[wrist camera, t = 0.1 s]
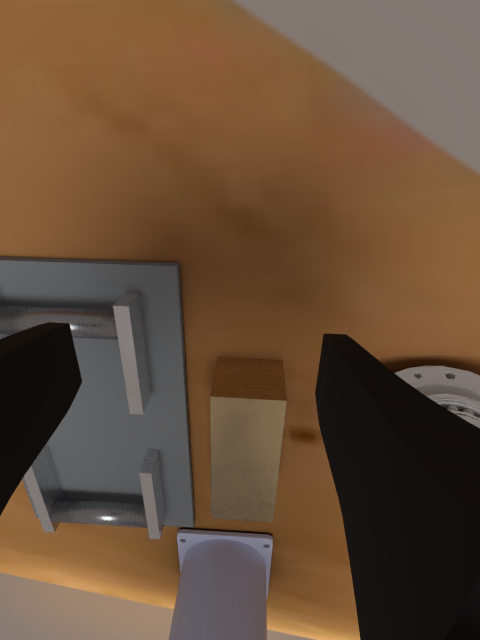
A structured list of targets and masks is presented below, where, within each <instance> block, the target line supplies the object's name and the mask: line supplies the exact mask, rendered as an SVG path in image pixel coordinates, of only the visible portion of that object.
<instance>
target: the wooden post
mask: <svg viewBox="0 0 480 640" xmlns="http://www.w3.org/2000/svg"><path fill="white" fill-rule="evenodd" d="M286 404H287V398H286V388H285V377H284V367H283V361H281V360H263V359H245V358H226V357H218V360H217V365H216V370H215V375H214V380H213V385H212V390H211V395H210V421H211V518H216V519H231V520H245V521H260V522H273V518H274V509H275V500H276V491H277V483H278V474H279V465H280V456H281V448H282V439H283V430H284V421H285V413H286Z"/></svg>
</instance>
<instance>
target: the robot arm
mask: <svg viewBox="0 0 480 640" xmlns="http://www.w3.org/2000/svg"><path fill="white" fill-rule="evenodd" d="M81 384H82V378H81V373H80V369H79V364H78V360H77V355H76V351H75V346H74V342H73V337H72V333H71V328H70V324H69V323H55V322H48V323H44V324H40V325H37V326H34V327H31V328H28V329H25V330H22V331H20V332H17V333H15V334H12V335H9V336H7V337H4V338H2V339H0V515H1V514H2V512H3V510H4V508H5V506H6V504H7V503H8V501H9V499H10V497H11V496H12V494H13V492H14V491H15V489H16V488H17V486H18V485H19V483H20V481H21V480H22V478H23V477H24V475H25V474H26V473H27V471H28V470H29V468H30V467H31V465H32V464H33V462H34V461H35V459H36V458H37V457H38V455H39V454H40V452H41V451H42V449H43V448H44V446H45V445H46V444H47V442H48V441H49V439H50V438H51V436H52V435H53V433H54V432H55V430H56V429H57V427H58V426H59V424H60V423H61V421H62V420H63V418H64V417H65V415H66V414H67V412H68V411H69V409H70V407H71V405H72V403H73V401H74V399H75V397H76V395H77V393H78V390H79V388H80V386H81ZM315 395H316V403H317V412H318V419H319V426H320V430H321V434H322V437H323V441H324V445H325V449H326V453H327V457H328V460H329V464H330V468H331V472H332V476H333V479H334V483H335V487H336V491H337V494H338V498H339V503H340V507H341V512H342V516H343V522H344V528H345V535H346V541H347V547H348V553H349V560H350V567H351V573H352V580H353V587H354V594H355V601H356V608H357V616H358V623H359V631H360V639H361V640H480V428H478V427H477V426H475V425H473V424H471V423H469V422H468V421H466V420H464V419H462V418H461V417H459V416H457V415H456V414H454V413H452V412H451V411H449V410H447V409H446V408H444V407H442V406H441V405H439V404H438V403H436V402H435V401H433V400H431V399H430V398H428V397H427V396H425V395H424V394H423V393H421V392H420V391H418V390H417V389H415V388H414V387H413V386H411V385H410V384H408V383H407V382H406V381H404V380H403V379H402V378H400V377H399V376H398V375H396V374H395V373H394V372H392V371H391V370H390V369H388V368H387V367H386V366H385V365H383V364H382V363H381V362H380V361H378V360H377V359H376V358H375V357H374V356H372V355H371V354H370V353H369V352H368V351H366V350H365V349H364V348H363V347H361V346H360V345H359V344H358V343H357V342H355V341H354V340H353V339H352V338H350V337H349V336H347V335H344V334H324V336H323V343H322V350H321V357H320V364H319V371H318V378H317V385H316V392H315ZM177 544H178V554H179V564H180V574H181V576H180V581H179V587H178V592H177V598H176V603H175V608H174V614H173V619H172V625H171V630H170V636H169V640H267V613H266V599H267V597H268V587H269V577H270V567H271V557H272V547H273V537H272V536H271V535H268V534H253V533H237V532H222V531H206V530H190V529H180V530H179V531H178V532H177Z"/></svg>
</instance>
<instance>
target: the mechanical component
mask: <svg viewBox="0 0 480 640" xmlns="http://www.w3.org/2000/svg"><path fill="white" fill-rule="evenodd" d="M395 374H396V375H398V376H399V377H400V378H402V379H403V380H404V381H406V382H407V383H408V384H410V385H411V386H413V387H414V388H415V389H417V390H418V391H420V392H421V393H423V394H424V395H425V396H427V397H428V398H430V399H431V400H433V401H435V402H436V403H438V404H439V405H441V406H442V407H444V408H446V409H447V410H449V411H451V412H452V413H454V414H456V415H457V416H459V417H461V418H462V419H464V420H466V421H468V422H469V423H471V424H473V425H475V426H477V427H478V428H480V375H477V374H475V373H473V372H470V371H465V370H460V369H455V368H450V367H445V366H419V367H412V368H407V369H404V370H401V371H399V372H396V373H395Z"/></svg>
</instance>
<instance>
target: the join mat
mask: <svg viewBox="0 0 480 640" xmlns="http://www.w3.org/2000/svg"><path fill="white" fill-rule="evenodd" d="M0 290H1V293H2V297H3V300H4V303H5V305H7V306H31V307H56V308H81V309H106V310H113V305H114V304H115V303H116V302H117V301H118V300H119V298H120V297H121V296H122V295H123V294H124V293H125V292H126V291H141V298H142V307H143V315H144V324H145V332H146V341H147V350H148V358H149V367H150V376H151V384H152V395H151V398H150V400H149V402H148V405H147V407H146V409H145V412H144V414H130V412H129V405H128V399H127V392H126V386H125V380H124V373H123V367H122V361H121V354H120V348H119V342H118V340H114V339H91V338H73V342H74V346H75V351H76V355H77V360H78V364H79V369H80V373H81V378H82V384H81V386H80V388H79V390H78V393H77V395H76V397H75V399H74V401H73V403H72V405H71V407H70V409H69V411H68V412H67V414H66V415H65V417H64V418H63V420H62V421H61V423H60V424H59V426H58V427H57V429H56V430H55V432H54V433H53V435H52V436H51V438H50V439H49V441H48V442H47V444H48V446H49V449H50V453H51V456H52V459H53V462H54V466H55V469H56V472H57V475H58V478H59V482H60V485H61V488H62V491H63V495H64V498H73V499H90V500H106V501H122V502H139V503H144V501H143V494H142V488H141V481H140V475H139V472H140V469H141V466H142V464H143V461H144V458H145V456H146V453H147V450H148V449H154V450H159V453H160V462H161V471H162V479H163V488H164V496H165V505H166V518H165V522H164V526H178V527H194V522H195V514H194V498H193V481H192V465H191V448H190V432H189V415H188V399H187V382H186V366H185V349H184V333H183V316H182V300H181V283H180V267H179V263H167V262H138V261H110V260H81V259H52V258H24V257H0ZM22 480H23V483H24V485H25V488H26V491H27V493H28V496H29V498H30V501H31V504H32V506H33V509H34V512H35V514H36V517H37V518H39V516H38V514H37V511H36V508H35V506H34V503H33V500H32V498H31V495H30V492H29V489H28V487H27V484H26V481H25V479H24V477H23V478H22Z"/></svg>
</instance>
